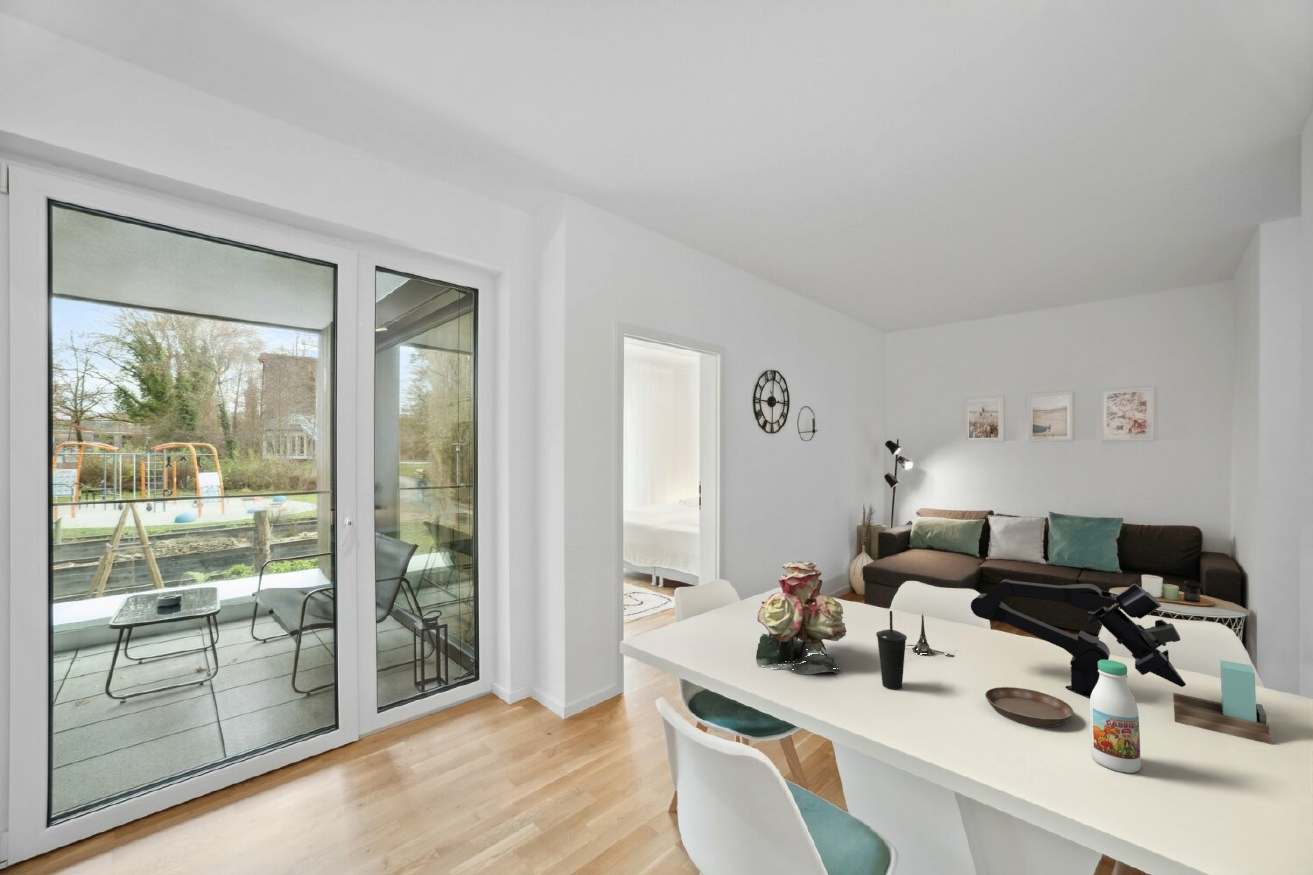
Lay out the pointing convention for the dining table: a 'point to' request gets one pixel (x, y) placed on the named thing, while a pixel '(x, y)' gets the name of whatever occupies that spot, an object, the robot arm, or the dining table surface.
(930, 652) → the eiffel tower figurine
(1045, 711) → the plant saucer
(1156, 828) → the dining table surface
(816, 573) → the rose bouquet
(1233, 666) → the block
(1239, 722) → the chute
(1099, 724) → the milk bottle
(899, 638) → the drinking cup
